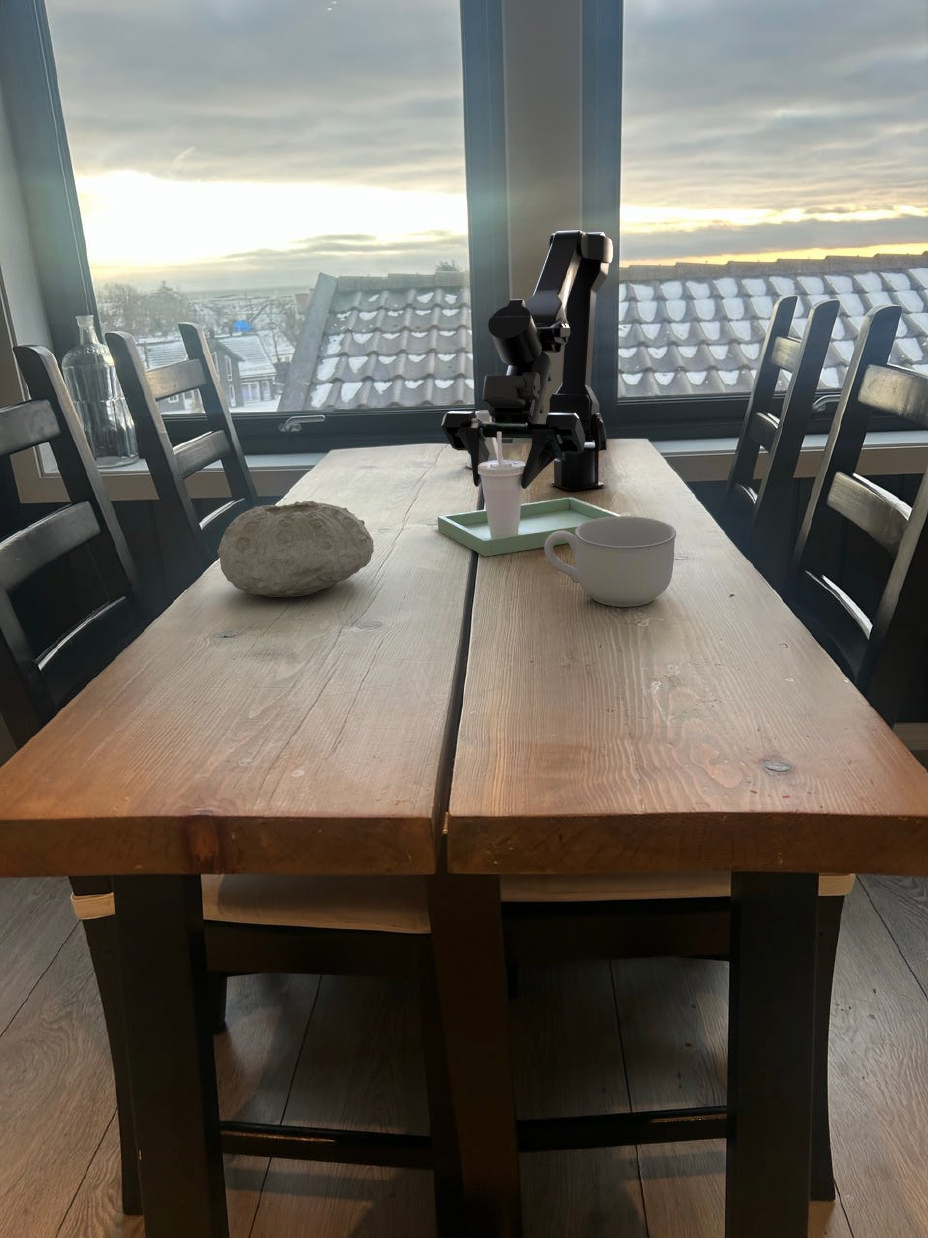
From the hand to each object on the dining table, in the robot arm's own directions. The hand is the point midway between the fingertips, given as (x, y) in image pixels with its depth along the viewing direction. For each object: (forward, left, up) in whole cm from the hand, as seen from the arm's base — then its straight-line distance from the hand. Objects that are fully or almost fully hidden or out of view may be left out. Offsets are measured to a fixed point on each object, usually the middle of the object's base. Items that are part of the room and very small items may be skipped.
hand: (499, 485), depth 130 cm
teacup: (0, +27, -8) cm, 28 cm away
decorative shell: (+29, +5, -8) cm, 30 cm away
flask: (-21, -50, -8) cm, 55 cm away
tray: (-6, -3, -8) cm, 11 cm away
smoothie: (-1, -1, -7) cm, 7 cm away
